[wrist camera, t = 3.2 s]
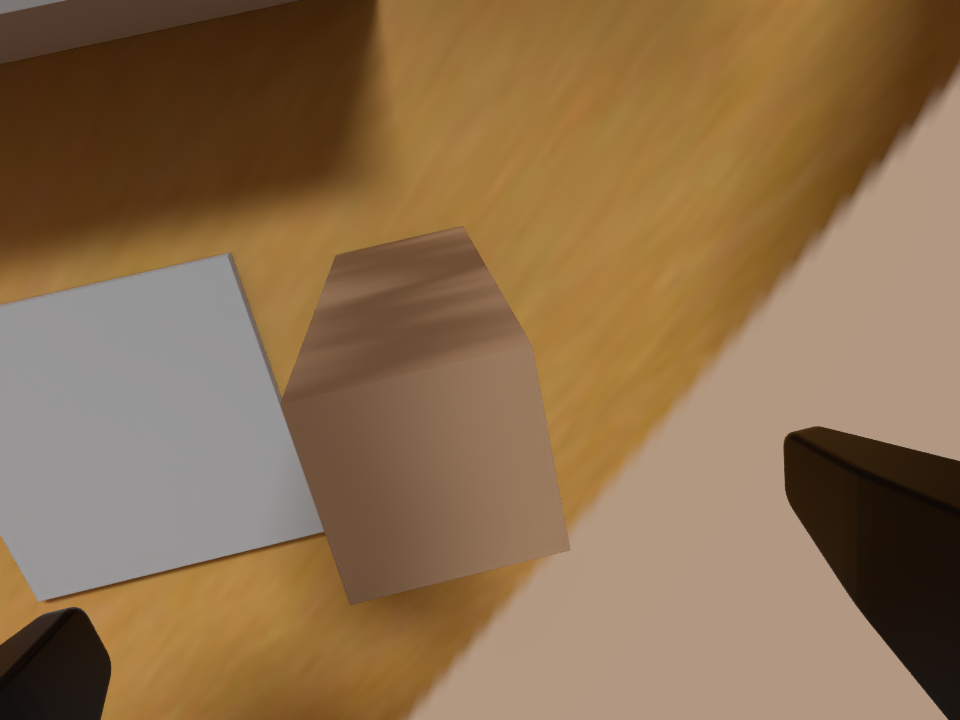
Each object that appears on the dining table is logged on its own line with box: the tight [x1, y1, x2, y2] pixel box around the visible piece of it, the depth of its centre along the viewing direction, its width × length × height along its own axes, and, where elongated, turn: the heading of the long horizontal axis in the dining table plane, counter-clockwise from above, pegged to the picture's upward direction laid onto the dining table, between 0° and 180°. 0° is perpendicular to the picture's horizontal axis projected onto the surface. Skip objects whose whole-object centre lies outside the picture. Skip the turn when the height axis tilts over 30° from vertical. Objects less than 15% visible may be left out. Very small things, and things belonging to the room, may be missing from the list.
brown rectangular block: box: [280, 226, 570, 605], centre depth 15 cm, size 4×4×10 cm
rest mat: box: [0, 253, 324, 602], centre depth 20 cm, size 9×9×1 cm
